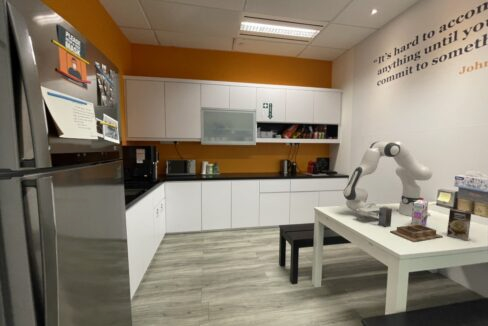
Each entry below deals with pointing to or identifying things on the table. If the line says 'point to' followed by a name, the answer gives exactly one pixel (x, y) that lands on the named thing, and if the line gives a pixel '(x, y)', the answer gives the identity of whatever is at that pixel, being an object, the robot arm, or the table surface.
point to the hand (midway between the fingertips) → (382, 214)
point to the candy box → (419, 212)
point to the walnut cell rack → (416, 233)
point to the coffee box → (459, 224)
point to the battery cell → (385, 216)
